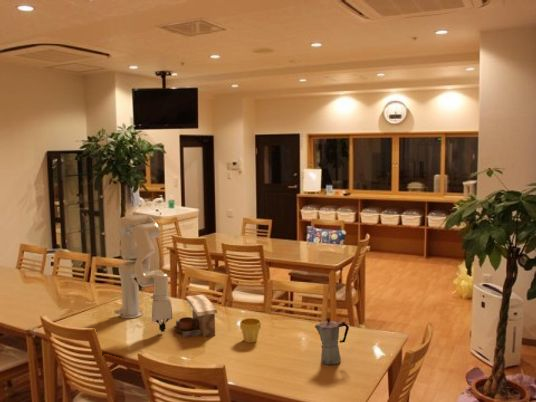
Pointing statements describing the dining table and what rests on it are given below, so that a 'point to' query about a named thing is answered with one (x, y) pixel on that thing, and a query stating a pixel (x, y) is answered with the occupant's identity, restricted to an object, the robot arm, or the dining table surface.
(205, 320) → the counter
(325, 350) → the moka pot
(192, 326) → the cup and saucer
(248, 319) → the plant pot
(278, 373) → the dining table surface
